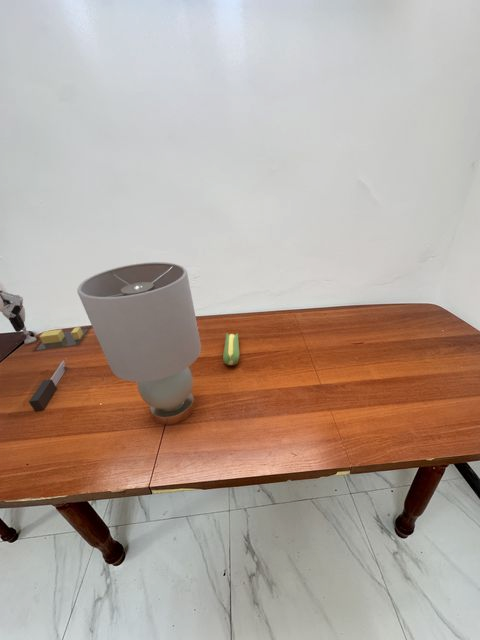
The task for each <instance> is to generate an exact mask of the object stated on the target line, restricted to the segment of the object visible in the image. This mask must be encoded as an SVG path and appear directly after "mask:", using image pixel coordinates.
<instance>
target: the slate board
mask: <svg viewBox="0 0 480 640" xmlns="http://www.w3.org/2000/svg"><path fill="white" fill-rule="evenodd" d="M81 330H82V332H83V335H82V337H81V338H80V339H76V340H74V338H73V336H72V334H71V332H72V331H73V330H68V331H67V330H66V331H63V333H64V335H65V337H64V338H63V339H62V341H61V342H54V343H46V344H43V342H42V341H41V343H40V344H39V346H37V348H36V349H35V351H40V350H48V349H55V348H65V347H70V346H77V345H79V343H81V341H82V339H83V338H84V336H85V334H86V333H87V331H88V330H89V328H83V329H82V328H81Z"/></svg>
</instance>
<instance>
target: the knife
mask: <svg viewBox="0 0 480 640" xmlns="http://www.w3.org/2000/svg"><path fill="white" fill-rule="evenodd" d="M66 364H67V363H66V362H65V360H62V361H61V362H60V364H59V365H58V367H57V369H56V370H55V372H54V373H53V375H52V376H51V378H50V379H44V380H42V382H41V383H40V385H39V386H38V387H37V389H36V390H35V392H34V393H33V394H32V396H31V398H30V399H29V400H28V403H29V405H30V406H31V408H32V409H33V410H34V412H41V411H44V410H45V409H46V408H47V406H48V404H49V403H50V401H51V400H52V398H53V396H54V395H55V393H56V391H57V390H58V387H57V385H58V383H59V382H60V381H61V379H62V377H63V375H64V374H65V372H67V369H68V366H66Z"/></svg>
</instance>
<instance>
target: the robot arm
mask: <svg viewBox="0 0 480 640" xmlns="http://www.w3.org/2000/svg"><path fill="white" fill-rule="evenodd" d="M16 295H17V294H12V293H9V292H8V290H7V289H6V288H5V286H4V285H3V283H2V282H1V281H0V313H2V312H3V313H4V314H6V315H8V316H10V318H9V319H8V321H9V323H10V324H11V326H12V328H13V330H14V331H15V332H16V333H20V332H22V331H23V330H22V329H23V328H24V327H26V326H25V325H26V324H25V322H23V320H22V318H21V316H20V315H19V313H20V311H21V309H22V307H24V298H23V296H20V295H19V296H16ZM12 301H13V302H14V305H15V306H12V305H11V304H12V303H13V302H12ZM6 308H7V309H6ZM8 309H9V310H8ZM10 310H11V311H10ZM3 313H2V314H3Z"/></svg>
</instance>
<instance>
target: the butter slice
mask: <svg viewBox="0 0 480 640" xmlns="http://www.w3.org/2000/svg"><path fill="white" fill-rule="evenodd" d="M71 331H72V332H71V334H72V336H73V338H74V340H76V339H80V338H81V337H82V335H83V332H82V327H81V326H76V327H74V328H73V329H72V330H71ZM82 338H83V337H82Z"/></svg>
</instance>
